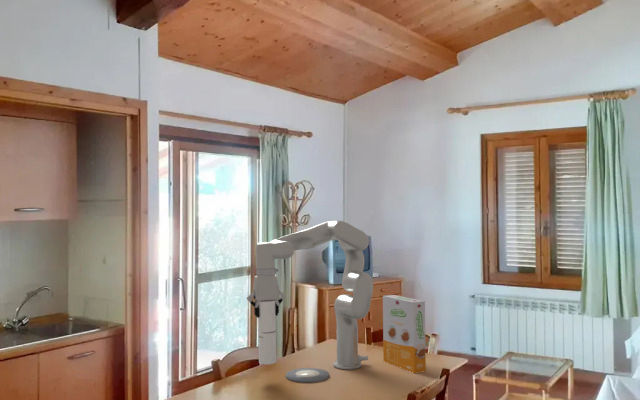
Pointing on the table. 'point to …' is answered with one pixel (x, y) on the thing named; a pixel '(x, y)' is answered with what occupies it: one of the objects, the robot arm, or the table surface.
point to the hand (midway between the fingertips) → (266, 315)
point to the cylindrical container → (267, 332)
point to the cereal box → (404, 332)
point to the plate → (307, 375)
